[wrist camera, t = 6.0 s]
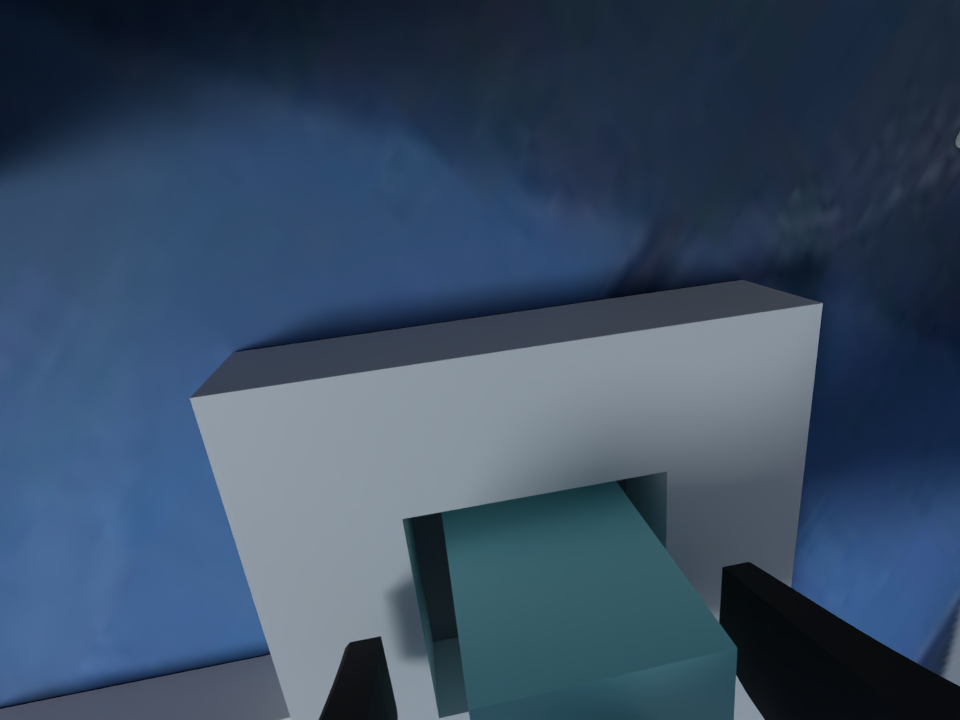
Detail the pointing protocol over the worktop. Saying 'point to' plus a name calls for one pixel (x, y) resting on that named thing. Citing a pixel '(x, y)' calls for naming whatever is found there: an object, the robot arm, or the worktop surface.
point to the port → (501, 461)
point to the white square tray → (174, 697)
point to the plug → (581, 614)
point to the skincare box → (958, 141)
